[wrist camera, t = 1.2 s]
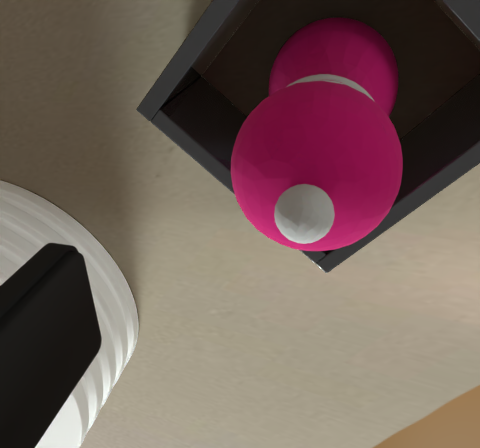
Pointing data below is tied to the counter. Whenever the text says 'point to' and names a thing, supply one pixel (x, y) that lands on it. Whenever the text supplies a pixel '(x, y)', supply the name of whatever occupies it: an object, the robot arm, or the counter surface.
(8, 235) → the plate stack
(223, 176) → the open box
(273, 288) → the counter surface
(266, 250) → the counter surface
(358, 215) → the pepper mill
